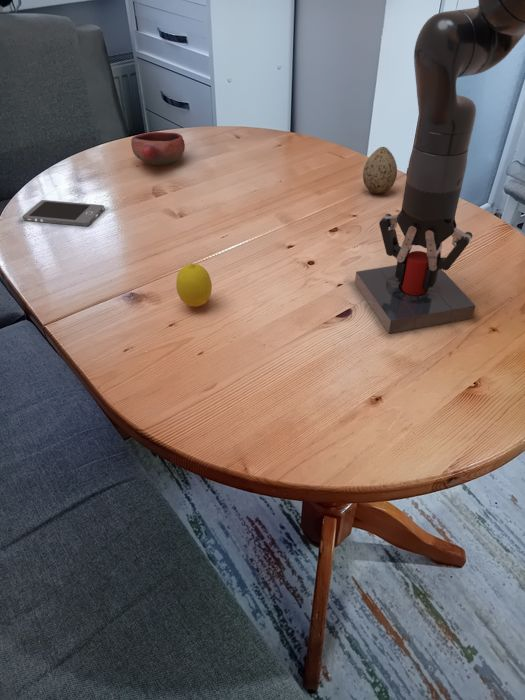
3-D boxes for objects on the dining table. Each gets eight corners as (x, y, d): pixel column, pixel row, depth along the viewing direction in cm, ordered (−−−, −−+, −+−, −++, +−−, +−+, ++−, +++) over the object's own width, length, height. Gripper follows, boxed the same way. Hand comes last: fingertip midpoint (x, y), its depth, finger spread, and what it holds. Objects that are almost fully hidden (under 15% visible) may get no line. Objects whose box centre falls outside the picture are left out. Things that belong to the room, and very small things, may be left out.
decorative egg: (392, 185, 120) (399, 141, 114) (395, 200, 115) (402, 153, 109) (360, 185, 121) (364, 140, 115) (361, 199, 116) (366, 153, 109)
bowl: (129, 159, 136) (123, 127, 130) (177, 150, 139) (173, 118, 134) (146, 183, 124) (140, 148, 119) (198, 172, 128) (195, 139, 123)
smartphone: (21, 220, 112) (20, 217, 111) (42, 202, 118) (41, 199, 117) (87, 226, 109) (86, 223, 108) (105, 208, 115) (104, 205, 114)
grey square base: (429, 271, 94) (432, 259, 92) (472, 318, 84) (476, 305, 82) (354, 283, 91) (355, 271, 90) (388, 333, 81) (391, 320, 80)
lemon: (173, 312, 87) (166, 269, 81) (189, 293, 90) (184, 252, 85) (204, 319, 85) (199, 276, 80) (219, 300, 89) (215, 258, 83)
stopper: (418, 281, 88) (424, 249, 84) (428, 293, 85) (436, 261, 81) (398, 285, 87) (403, 252, 83) (407, 297, 84) (414, 264, 80)
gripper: (493, 178, 74) (465, 284, 85) (395, 160, 79) (380, 261, 91) (480, 200, 69) (452, 308, 80) (375, 179, 74) (363, 283, 86)
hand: (414, 282), depth 85 cm, fingers closed on stopper, 3 cm apart
